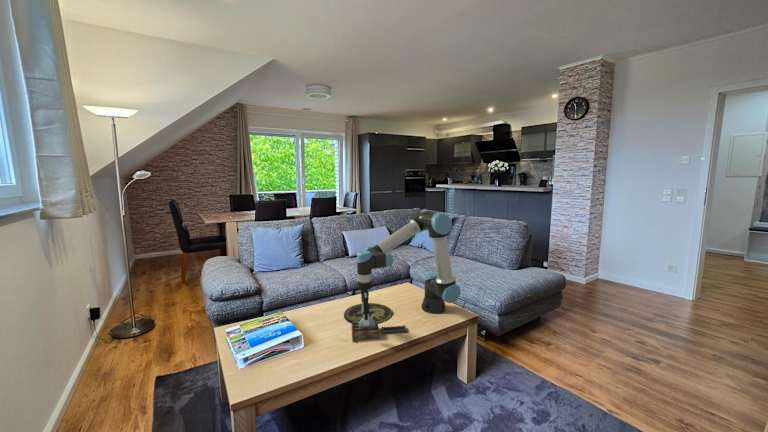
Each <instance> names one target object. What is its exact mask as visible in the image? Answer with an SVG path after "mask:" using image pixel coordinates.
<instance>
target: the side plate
mask: <svg viewBox="0 0 768 432" xmlns="http://www.w3.org/2000/svg"><path fill="white" fill-rule="evenodd" d="M369 327H376V324H375V321H374V319H372V318H371V317H369V325H366V326H364V324H363V318H362V319H361V320H360V322H359V328H369Z"/></svg>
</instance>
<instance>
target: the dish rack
mask: <svg viewBox="0 0 768 432" xmlns="http://www.w3.org/2000/svg"><path fill="white" fill-rule="evenodd" d="M375 324H376V327H369V328H359V322H352V324H351V339H352V343H353V342H354V343H356V342H357V343H358V342H359V341H362V340H363V341H364V340H365V341H366V340H376V339H377V340H379V339H380V328H379V325H378V323H377V321H375Z"/></svg>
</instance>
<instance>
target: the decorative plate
mask: <svg viewBox="0 0 768 432" xmlns="http://www.w3.org/2000/svg"><path fill="white" fill-rule="evenodd" d="M368 304H369V317H371V318H372V319H374V321H377V323H378V324H383V323H385V322H387V321H389V320H390V319H392V317H393V315H394V313H393V310H392V309H391V308H390V307H389V306H387V305H384V304H380V303H374V302H368ZM343 318H344V320H345V321H346V322H348V323H349V324H350V325H352V322H360V320H361V319H362V318H363V314H362V303H357V304H354V305H351V306H350V307H348V308H347V309H346V310H345V311H344V313H343Z"/></svg>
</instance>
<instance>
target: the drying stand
mask: <svg viewBox="0 0 768 432" xmlns="http://www.w3.org/2000/svg"><path fill="white" fill-rule="evenodd" d="M381 331H382V335H393V334H407V333H408V329H407V327H406V325H405V324H403V325H396V326H395V325H394V326H381Z"/></svg>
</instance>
